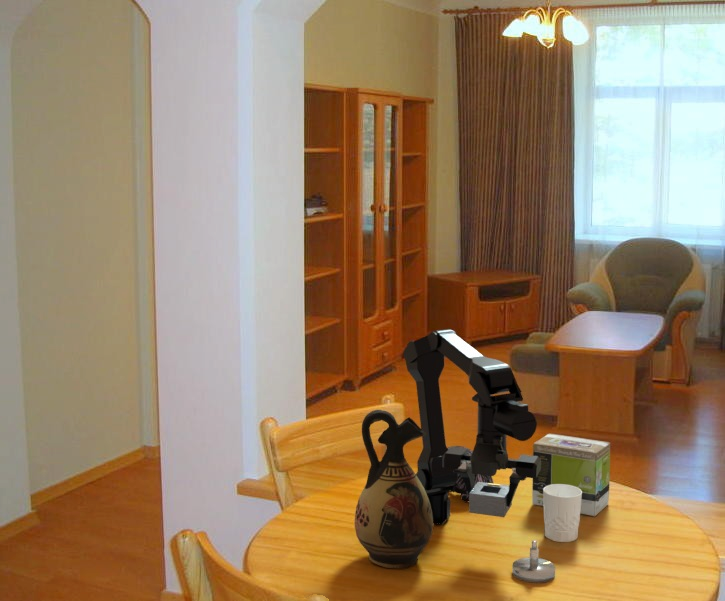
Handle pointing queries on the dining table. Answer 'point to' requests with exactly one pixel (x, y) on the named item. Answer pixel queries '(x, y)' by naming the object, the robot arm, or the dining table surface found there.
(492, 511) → the grey knob housing box
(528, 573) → the hub
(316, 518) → the dining table surface
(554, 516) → the white cup
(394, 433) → the ceramic jug
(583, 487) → the tea box
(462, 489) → the decorative flower
